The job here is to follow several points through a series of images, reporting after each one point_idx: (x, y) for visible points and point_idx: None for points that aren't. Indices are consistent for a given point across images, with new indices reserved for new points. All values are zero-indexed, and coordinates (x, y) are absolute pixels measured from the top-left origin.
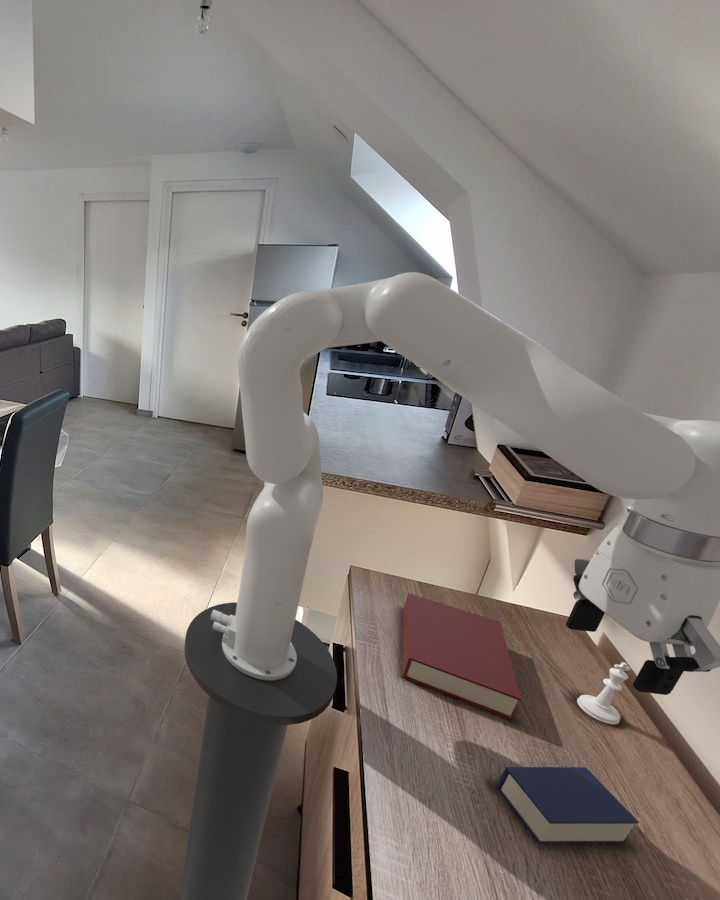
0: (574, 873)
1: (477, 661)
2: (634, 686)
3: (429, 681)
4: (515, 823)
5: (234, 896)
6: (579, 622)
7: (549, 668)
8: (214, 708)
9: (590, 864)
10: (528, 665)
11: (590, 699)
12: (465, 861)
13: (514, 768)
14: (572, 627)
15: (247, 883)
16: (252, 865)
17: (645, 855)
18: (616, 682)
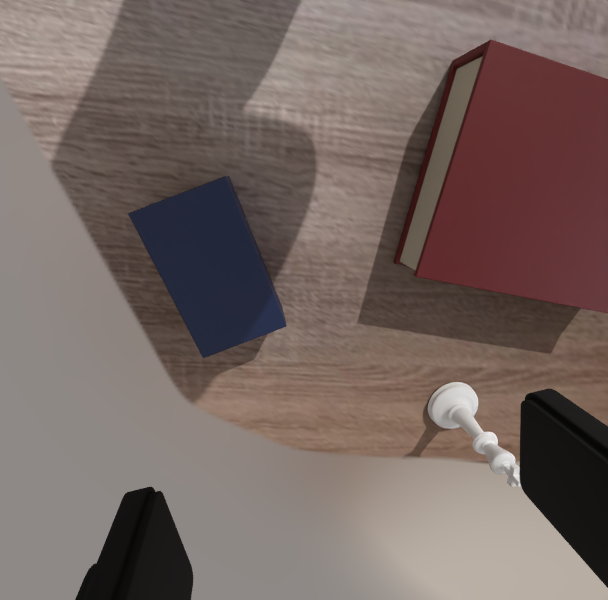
0: (117, 243)
1: (507, 222)
2: (137, 492)
3: (446, 115)
4: (166, 183)
5: None
6: (558, 451)
7: (531, 371)
8: None
9: (146, 273)
10: (532, 340)
11: (466, 401)
12: (37, 57)
13: (229, 193)
14: (529, 408)
15: None
16: None
17: None
18: (486, 450)
